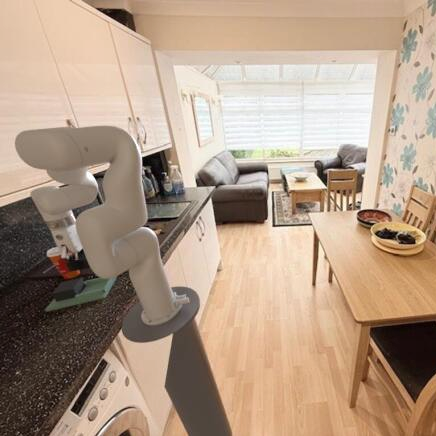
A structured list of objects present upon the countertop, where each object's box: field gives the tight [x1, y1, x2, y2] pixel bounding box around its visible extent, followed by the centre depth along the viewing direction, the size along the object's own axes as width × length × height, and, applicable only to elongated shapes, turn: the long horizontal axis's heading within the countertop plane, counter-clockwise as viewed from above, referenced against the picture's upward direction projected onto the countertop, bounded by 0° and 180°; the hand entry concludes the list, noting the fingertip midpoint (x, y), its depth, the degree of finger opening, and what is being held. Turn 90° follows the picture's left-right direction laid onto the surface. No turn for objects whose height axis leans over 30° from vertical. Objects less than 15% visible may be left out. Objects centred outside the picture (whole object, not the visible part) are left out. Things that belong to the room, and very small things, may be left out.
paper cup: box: [46, 246, 81, 280], centre depth 104 cm, size 8×8×14 cm
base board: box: [44, 276, 118, 313], centre depth 95 cm, size 19×14×5 cm
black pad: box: [65, 252, 91, 272], centre depth 90 cm, size 6×6×4 cm
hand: (83, 263), depth 91 cm, fingers closed on black pad, 6 cm apart
